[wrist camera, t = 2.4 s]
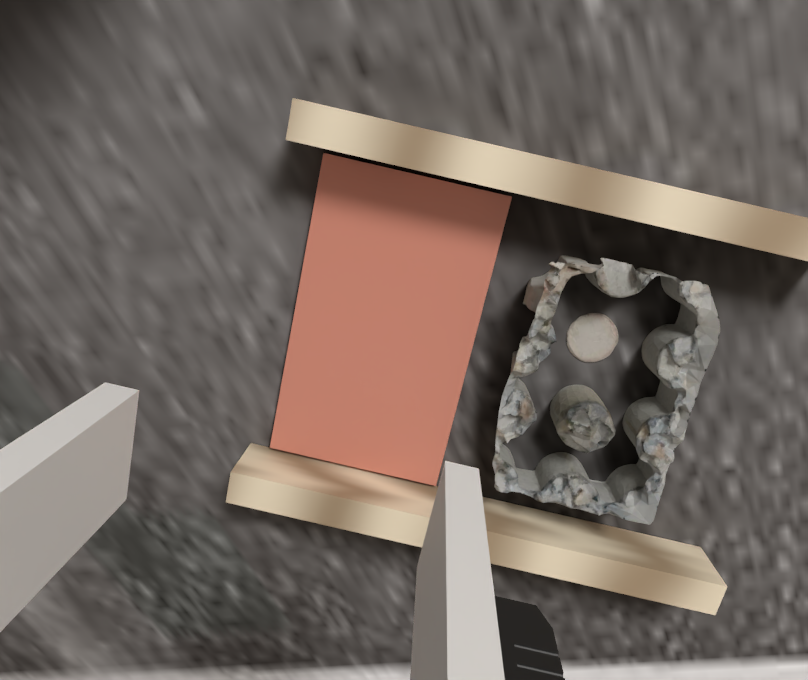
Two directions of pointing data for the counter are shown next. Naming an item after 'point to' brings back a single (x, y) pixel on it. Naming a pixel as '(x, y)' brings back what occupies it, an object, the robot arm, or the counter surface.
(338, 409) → the plate
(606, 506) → the egg carton
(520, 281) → the counter surface
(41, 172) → the counter surface
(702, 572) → the channel
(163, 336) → the counter surface
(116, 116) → the counter surface
